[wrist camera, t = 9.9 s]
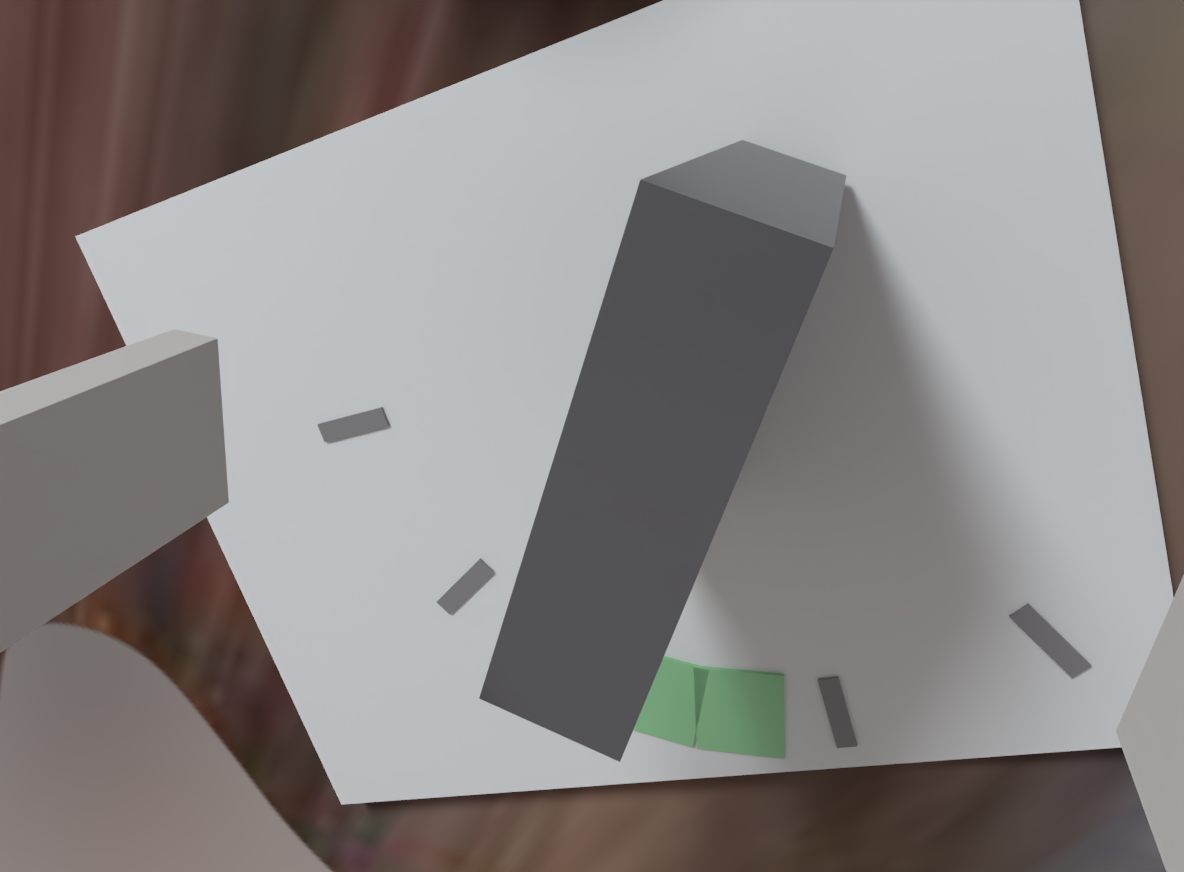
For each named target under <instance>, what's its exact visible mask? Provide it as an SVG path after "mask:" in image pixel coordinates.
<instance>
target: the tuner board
mask: <svg viewBox="0 0 1184 872" xmlns="http://www.w3.org/2000/svg"><path fill="white" fill-rule="evenodd" d="M741 140H744V141H747V142H750V143H753V144H756V145H759V146H762V147H765V148H768V149H771V150H773V151H776V152H779V153H782V154H785V155H788V156H791V157H794V158H797V159H800V160H803V161H806V162H809V163H812V164H814V165H817V166H820V167H823V168H826V169H829V170H832V171H835V172H838V173H841V174H844V175H846V181H845V186H844V192H843V198H842V204H841V209H840V215H839V221H838V226H837V232H836V238H835V244H834V249H833V251H832V253H831V256H830V258H829V261H828V263H827V265H826V268H825V270H824V273H823V275H822V277H821V280H820V282H819V285H818V287H817V289H816V292H815V294H814V297H813V299H812V302H811V304H810V306H809V309H808V311H807V314H806V316H805V318H804V321H803V323H802V326H801V328H800V330H799V333H798V335H797V338H796V340H795V342H794V345H793V347H792V350H791V352H790V354H789V357H788V359H787V362H786V364H785V366H784V369H783V371H782V374H781V376H780V378H779V381H778V383H777V386H776V388H775V390H774V393H773V395H772V398H771V400H770V402H769V405H768V407H767V410H766V412H765V414H764V417H763V419H762V422H761V424H760V427H759V429H758V431H757V434H756V436H755V439H754V441H753V443H752V446H751V448H750V451H749V453H748V455H747V458H746V460H745V463H744V465H743V467H742V470H741V472H740V475H739V477H738V479H737V482H736V484H735V487H734V489H733V491H732V494H731V496H730V499H729V501H728V503H727V506H726V508H725V511H724V513H723V515H722V518H721V520H720V523H719V525H718V527H717V530H716V532H715V535H714V537H713V539H712V542H711V544H710V547H709V549H708V552H707V554H706V556H705V559H704V561H703V564H702V566H701V568H700V571H699V573H698V576H697V578H696V580H695V583H694V585H693V588H692V590H691V592H690V595H689V597H688V600H687V602H686V604H685V607H684V609H683V612H682V614H681V616H680V619H679V621H678V624H677V626H676V628H675V631H674V633H673V636H672V638H671V640H670V643H669V645H668V648H667V650H666V652H665V655H664V657H663V660H662V662H661V665H660V667H659V669H658V672H657V674H656V677H655V679H654V681H653V684H652V686H651V689H650V691H649V693H648V696H647V698H646V701H645V703H644V705H643V708H642V710H641V713H640V715H639V717H638V720H637V722H636V725H635V727H634V729H633V732H632V734H631V737H630V739H629V741H628V744H627V746H626V749H625V751H624V753H623V756H622V758H621V761H620V762H619V761H617V760H614V759H612V758H610V757H608V756H606V755H603V754H601V753H599V752H597V751H594V750H592V749H590V748H588V747H586V746H583V745H581V744H579V743H577V742H574V741H572V740H570V739H568V738H566V737H563V736H561V735H559V734H557V733H555V732H552V731H550V730H548V729H546V728H543V727H541V726H539V725H537V724H535V723H532V722H530V721H528V720H526V719H523V718H521V717H519V716H517V715H515V714H512V713H510V712H508V711H506V710H504V709H501V708H499V707H497V706H495V705H492V704H490V703H488V702H486V701H484V700H481V699H479V697H480V694H481V691H482V687H483V684H484V681H485V678H486V675H487V671H488V668H489V665H490V662H491V658H492V655H493V652H494V649H495V646H496V642H497V639H498V636H499V633H500V630H501V626H502V623H503V620H504V617H505V613H506V610H507V607H508V604H509V601H510V597H511V594H512V591H513V588H514V584H515V581H516V578H517V575H518V572H519V568H520V565H521V562H522V559H523V556H524V552H525V549H526V546H527V543H528V539H529V536H530V533H531V530H532V527H533V523H534V520H535V517H536V514H537V510H538V507H539V504H540V501H541V498H542V494H543V491H544V488H545V485H546V482H547V478H548V475H549V472H550V469H551V465H552V462H553V459H554V456H555V453H556V449H557V446H558V443H559V440H560V436H561V433H562V430H563V427H564V424H565V420H566V417H567V414H568V411H569V408H570V404H571V401H572V398H573V395H574V391H575V388H576V385H577V382H578V379H579V375H580V372H581V369H582V366H583V362H584V359H585V356H586V353H587V350H588V346H589V343H590V340H591V337H592V333H593V330H594V327H595V324H596V321H597V317H598V314H599V311H600V308H601V305H602V301H603V298H604V295H605V292H606V288H607V285H608V282H609V279H610V276H611V272H612V269H613V266H614V263H615V259H616V256H617V253H618V250H619V247H620V243H621V240H622V237H623V234H624V231H625V227H626V224H627V221H628V218H629V214H630V211H631V208H632V205H633V202H634V198H635V195H636V192H637V189H638V185H639V182H640V180H641V179H643V178H646V177H648V176H651V175H654V174H656V173H659V172H661V171H664V170H666V169H669V168H671V167H674V166H677V165H679V164H682V163H684V162H687V161H689V160H692V159H695V158H697V157H700V156H702V155H705V154H707V153H710V152H712V151H715V150H718V149H720V148H723V147H725V146H728V145H730V144H733V143H735V142H738V141H741ZM75 237H76V239H77V241H78V243H79V245H80V248H81V250H82V252H83V254H84V256H85V258H86V260H87V263H88V265H89V267H90V269H91V271H92V273H93V275H94V277H95V280H96V282H97V284H98V286H99V288H100V290H101V292H102V295H103V297H104V299H105V301H106V303H107V305H108V307H109V309H110V312H111V314H112V316H113V318H114V320H115V322H116V324H117V327H118V329H119V331H120V333H121V335H122V337H123V339H124V342H125V344H126V346H128V345H131V344H134V343H136V342H139V341H142V340H145V339H148V338H150V337H153V336H156V335H159V334H161V333H164V332H167V331H170V330H173V329H176V330H180V331H185V332H190V333H195V334H199V335H204V336H209V337H213V338H218V352H219V367H220V381H221V396H222V410H223V425H224V440H225V454H226V469H227V483H228V498H229V503H227V504H226V505H224V506H223V507H221V508H220V509H218V510H217V511H215V512H213V513H212V514H210V515H209V516H207V519H208V521H209V523H210V525H211V527H212V529H213V531H214V534H215V536H216V538H217V540H218V542H219V544H220V546H221V549H222V551H223V553H224V555H225V557H226V559H227V561H228V564H229V566H230V568H231V570H232V572H233V574H234V576H235V578H236V581H237V583H238V585H239V587H240V589H241V591H242V593H243V596H244V598H245V600H246V602H247V604H248V606H249V608H250V610H251V613H252V615H253V617H254V619H255V621H256V623H257V625H258V628H259V630H260V632H261V634H262V636H263V638H264V640H265V642H266V645H267V647H268V649H269V651H270V653H271V655H272V657H273V660H274V662H275V664H276V666H277V668H278V670H279V672H280V675H281V677H282V679H283V681H284V683H285V685H286V687H287V689H288V692H289V694H290V696H291V698H292V700H293V702H294V704H295V707H296V709H297V711H298V713H299V715H300V717H301V719H302V721H303V724H304V726H305V728H306V730H307V732H308V734H309V736H310V739H311V741H312V743H313V745H314V747H315V749H316V751H317V753H318V756H319V758H320V760H321V762H322V764H323V766H324V768H325V771H326V773H327V775H328V777H329V779H330V781H331V783H332V786H333V788H334V790H335V792H336V794H337V796H338V798H339V800H340V803H341V805H342V804H355V803H369V802H383V801H396V800H410V799H424V798H437V797H451V796H464V795H478V794H492V793H505V792H519V791H533V790H546V789H560V788H574V787H587V786H601V785H615V784H628V783H642V782H656V781H669V780H683V779H697V778H710V777H724V776H738V775H751V774H765V773H779V772H792V771H806V770H820V769H833V768H847V767H861V766H874V765H888V764H902V763H915V762H929V761H943V760H956V759H970V758H984V757H997V756H1011V755H1025V754H1038V753H1052V752H1066V751H1079V750H1093V749H1107V748H1120V747H1121V744H1120V741H1119V739H1118V736H1117V733H1116V730H1117V727H1118V725H1119V723H1120V720H1121V718H1122V716H1123V713H1124V711H1125V709H1126V707H1127V704H1128V702H1129V700H1130V697H1131V695H1132V693H1133V690H1134V688H1135V686H1136V684H1137V681H1138V679H1139V677H1140V674H1141V672H1142V670H1143V667H1144V665H1145V663H1146V661H1147V658H1148V656H1149V654H1150V651H1151V649H1152V647H1153V644H1154V642H1155V640H1156V638H1157V635H1158V633H1159V631H1160V628H1161V626H1162V624H1163V621H1164V619H1165V617H1166V615H1167V612H1168V610H1169V608H1170V605H1171V603H1172V601H1173V598H1174V597H1173V590H1172V584H1171V578H1170V571H1169V565H1168V559H1167V552H1166V546H1165V540H1164V533H1163V527H1162V521H1161V515H1160V508H1159V502H1158V496H1157V489H1156V483H1155V477H1154V470H1153V464H1152V458H1151V451H1150V445H1149V439H1148V432H1147V426H1146V420H1145V414H1144V407H1143V401H1142V395H1141V388H1140V382H1139V376H1138V369H1137V363H1136V357H1135V350H1134V344H1133V338H1132V331H1131V325H1130V319H1129V313H1128V306H1127V300H1126V294H1125V287H1124V281H1123V275H1122V268H1121V262H1120V256H1119V249H1118V243H1117V237H1116V230H1115V224H1114V218H1113V212H1112V205H1111V199H1110V193H1109V186H1108V180H1107V174H1106V167H1105V161H1104V155H1103V148H1102V142H1101V136H1100V129H1099V123H1098V117H1097V111H1096V104H1095V98H1094V92H1093V85H1092V79H1091V73H1090V66H1089V60H1088V54H1087V47H1086V41H1085V35H1084V28H1083V22H1082V16H1081V10H1080V3H1079V0H663V1H661V2H658V3H656V4H653V5H651V6H648V7H646V8H643V9H641V10H638V11H636V12H633V13H631V14H628V15H626V16H623V17H621V18H618V19H616V20H613V21H611V22H608V23H606V24H603V25H601V26H598V27H596V28H593V29H591V30H588V31H586V32H583V33H581V34H578V35H576V36H573V37H571V38H568V39H566V40H563V41H561V42H558V43H556V44H553V45H551V46H548V47H546V48H543V49H541V50H538V51H536V52H534V53H531V54H529V55H526V56H524V57H521V58H519V59H516V60H514V61H511V62H509V63H506V64H504V65H501V66H499V67H496V68H494V69H491V70H489V71H486V72H484V73H481V74H479V75H476V76H474V77H471V78H469V79H466V80H464V81H461V82H459V83H456V84H454V85H451V86H449V87H446V88H444V89H441V90H439V91H436V92H434V93H431V94H429V95H426V96H424V97H421V98H419V99H416V100H414V101H411V102H409V103H406V104H404V105H401V106H399V107H397V108H394V109H392V110H389V111H387V112H384V113H382V114H379V115H377V116H374V117H372V118H369V119H367V120H364V121H362V122H359V123H357V124H354V125H352V126H349V127H347V128H344V129H342V130H339V131H337V132H334V133H332V134H329V135H327V136H324V137H322V138H319V139H317V140H314V141H312V142H309V143H307V144H304V145H302V146H299V147H297V148H294V149H292V150H289V151H287V152H284V153H282V154H279V155H277V156H274V157H272V158H269V159H267V160H264V161H262V162H259V163H257V164H255V165H252V166H250V167H247V168H245V169H242V170H240V171H237V172H235V173H232V174H230V175H227V176H225V177H222V178H220V179H217V180H215V181H212V182H210V183H207V184H205V185H202V186H200V187H197V188H195V189H192V190H190V191H187V192H185V193H182V194H180V195H177V196H175V197H172V198H170V199H167V200H165V201H162V202H160V203H157V204H155V205H152V206H150V207H147V208H145V209H142V210H140V211H137V212H135V213H132V214H130V215H127V216H125V217H122V218H120V219H118V220H115V221H113V222H110V223H108V224H105V225H103V226H100V227H98V228H95V229H93V230H90V231H88V232H85V233H83V234H80V235H78V236H75Z"/></svg>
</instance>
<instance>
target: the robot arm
mask: <svg viewBox="0 0 1184 872" xmlns="http://www.w3.org/2000/svg"><path fill="white" fill-rule="evenodd" d="M227 503H229V498H228V483H227V469H226V454H225V440H224V425H223V410H222V396H221V381H220V367H219V352H218V338H213V337H209V336H204V335H199V334H195V333H190V332H185V331H180V330H176V329H173V330H170V331H167V332H164V333H161V334H159V335H156V336H153V337H150V338H148V339H145V340H142V341H139V342H136V343H134V344H131V345H128V346H125V347H123V348H120V349H117V350H114V351H111V352H109V353H106V354H103V355H100V356H98V357H95V358H92V359H89V360H86V361H84V362H81V363H78V364H75V365H73V366H70V367H67V368H64V369H62V370H59V371H56V372H53V373H50V374H48V375H45V376H42V377H39V378H37V379H34V380H31V381H28V382H25V383H23V384H20V385H17V386H14V387H12V388H9V389H6V390H3V391H0V653H1V652H2V651H4V650H5V649H7V648H8V647H10V646H11V645H13V644H14V643H16V642H17V641H19V640H20V639H22V638H23V637H25V636H26V635H28V634H29V633H31V632H33V631H34V630H36V629H37V628H39V627H40V626H42V625H43V624H45V623H46V622H48V621H49V620H51V619H52V618H54V617H55V616H57V615H58V614H60V613H61V612H63V611H64V610H66V609H67V608H69V607H71V606H72V605H74V604H75V603H77V602H78V601H80V600H81V599H83V598H84V597H86V596H87V595H89V594H90V593H92V592H93V591H95V590H96V589H98V588H99V587H101V586H102V585H104V584H106V583H107V582H109V581H110V580H112V579H113V578H115V577H116V576H118V575H119V574H121V573H122V572H124V571H125V570H127V569H128V568H130V567H131V566H133V565H134V564H136V563H137V562H139V561H140V560H142V559H144V558H145V557H147V556H148V555H150V554H151V553H153V552H154V551H156V550H157V549H159V548H160V547H162V546H163V545H165V544H166V543H168V542H169V541H171V540H172V539H174V538H175V537H177V536H178V535H180V534H182V533H183V532H185V531H186V530H188V529H189V528H191V527H192V526H194V525H195V524H197V523H198V522H200V521H201V520H203V519H204V518H206V517H207V516H209V515H210V514H212V513H213V512H215V511H217V510H218V509H220V508H221V507H223V506H224V505H226V504H227ZM1116 733H1117V736H1118V739H1119V741H1120V744H1121V747H1122V750H1123V753H1124V755H1125V758H1126V761H1127V764H1128V766H1129V769H1130V772H1131V775H1132V778H1133V780H1134V783H1135V786H1136V789H1137V791H1138V794H1139V797H1140V800H1141V802H1142V805H1143V808H1144V811H1145V814H1146V816H1147V819H1148V822H1149V825H1150V827H1151V830H1152V833H1153V836H1154V838H1155V841H1156V844H1157V847H1158V850H1159V852H1160V855H1161V858H1162V861H1163V863H1164V866H1165V869H1166V872H1184V575H1183V578H1182V580H1181V582H1180V585H1179V587H1178V589H1177V592H1176V594H1175V596H1174V598H1173V601H1172V603H1171V605H1170V608H1169V610H1168V612H1167V615H1166V617H1165V619H1164V621H1163V624H1162V626H1161V628H1160V631H1159V633H1158V635H1157V638H1156V640H1155V642H1154V644H1153V647H1152V649H1151V651H1150V654H1149V656H1148V658H1147V661H1146V663H1145V665H1144V667H1143V670H1142V672H1141V674H1140V677H1139V679H1138V681H1137V684H1136V686H1135V688H1134V690H1133V693H1132V695H1131V697H1130V700H1129V702H1128V704H1127V707H1126V709H1125V711H1124V713H1123V716H1122V718H1121V720H1120V723H1119V725H1118V727H1117V730H1116Z"/></svg>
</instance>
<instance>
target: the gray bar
mask: <svg viewBox="0 0 1184 872" xmlns="http://www.w3.org/2000/svg"><path fill="white" fill-rule="evenodd" d="M845 181H846V175H844V174H841V173H838V172H835V171H832V170H829V169H826V168H823V167H820V166H817V165H814V164H812V163H809V162H806V161H803V160H800V159H797V158H794V157H791V156H788V155H785V154H782V153H779V152H776V151H773V150H771V149H768V148H765V147H762V146H759V145H756V144H753V143H750V142H747V141H744V140H741V141H738V142H735V143H733V144H730V145H728V146H725V147H723V148H720V149H718V150H715V151H712V152H710V153H707V154H705V155H702V156H700V157H697V158H695V159H692V160H689V161H687V162H684V163H682V164H679V165H677V166H674V167H671V168H669V169H666V170H664V171H661V172H659V173H656V174H654V175H651V176H648V177H646V178H643V179H641V180H640V182H639V185H638V189H637V192H636V195H635V198H634V202H633V205H632V208H631V211H630V214H629V218H628V221H627V224H626V227H625V231H624V234H623V237H622V240H621V243H620V247H619V250H618V253H617V256H616V259H615V263H614V266H613V269H612V272H611V276H610V279H609V282H608V285H607V288H606V292H605V295H604V298H603V301H602V305H601V308H600V311H599V314H598V317H597V321H596V324H595V327H594V330H593V333H592V337H591V340H590V343H589V346H588V350H587V353H586V356H585V359H584V362H583V366H582V369H581V372H580V375H579V379H578V382H577V385H576V388H575V391H574V395H573V398H572V401H571V404H570V408H569V411H568V414H567V417H566V420H565V424H564V427H563V430H562V433H561V436H560V440H559V443H558V446H557V449H556V453H555V456H554V459H553V462H552V465H551V469H550V472H549V475H548V478H547V482H546V485H545V488H544V491H543V494H542V498H541V501H540V504H539V507H538V510H537V514H536V517H535V520H534V523H533V527H532V530H531V533H530V536H529V539H528V543H527V546H526V549H525V552H524V556H523V559H522V562H521V565H520V568H519V572H518V575H517V578H516V581H515V584H514V588H513V591H512V594H511V597H510V601H509V604H508V607H507V610H506V613H505V617H504V620H503V623H502V626H501V630H500V633H499V636H498V639H497V642H496V646H495V649H494V652H493V655H492V658H491V662H490V665H489V668H488V671H487V675H486V678H485V681H484V684H483V687H482V691H481V694H480V697H479V699H481V700H484V701H486V702H488V703H490V704H492V705H495V706H497V707H499V708H501V709H504V710H506V711H508V712H510V713H512V714H515V715H517V716H519V717H521V718H523V719H526V720H528V721H530V722H532V723H535V724H537V725H539V726H541V727H543V728H546V729H548V730H550V731H552V732H555V733H557V734H559V735H561V736H563V737H566V738H568V739H570V740H572V741H574V742H577V743H579V744H581V745H583V746H586V747H588V748H590V749H592V750H594V751H597V752H599V753H601V754H603V755H606V756H608V757H610V758H612V759H614V760H617V761H619V762H620V761H621V758H622V756H623V753H624V751H625V749H626V746H627V744H628V741H629V739H630V737H631V734H632V732H633V729H634V727H635V725H636V722H637V720H638V717H639V715H640V713H641V710H642V708H643V705H644V703H645V701H646V698H647V696H648V693H649V691H650V689H651V686H652V684H653V681H654V679H655V677H656V674H657V672H658V669H659V667H660V665H661V662H662V660H663V657H664V655H665V652H666V650H667V648H668V645H669V643H670V640H671V638H672V636H673V633H674V631H675V628H676V626H677V624H678V621H679V619H680V616H681V614H682V612H683V609H684V607H685V604H686V602H687V600H688V597H689V595H690V592H691V590H692V588H693V585H694V583H695V580H696V578H697V576H698V573H699V571H700V568H701V566H702V564H703V561H704V559H705V556H706V554H707V552H708V549H709V547H710V544H711V542H712V539H713V537H714V535H715V532H716V530H717V527H718V525H719V523H720V520H721V518H722V515H723V513H724V511H725V508H726V506H727V503H728V501H729V499H730V496H731V494H732V491H733V489H734V487H735V484H736V482H737V479H738V477H739V475H740V472H741V470H742V467H743V465H744V463H745V460H746V458H747V455H748V453H749V451H750V448H751V446H752V443H753V441H754V439H755V436H756V434H757V431H758V429H759V427H760V424H761V422H762V419H763V417H764V414H765V412H766V410H767V407H768V405H769V402H770V400H771V398H772V395H773V393H774V390H775V388H776V386H777V383H778V381H779V378H780V376H781V374H782V371H783V369H784V366H785V364H786V362H787V359H788V357H789V354H790V352H791V350H792V347H793V345H794V342H795V340H796V338H797V335H798V333H799V330H800V328H801V326H802V323H803V321H804V318H805V316H806V314H807V311H808V309H809V306H810V304H811V302H812V299H813V297H814V294H815V292H816V289H817V287H818V285H819V282H820V280H821V277H822V275H823V273H824V270H825V268H826V265H827V263H828V261H829V258H830V256H831V253H832V251H833V249H834V244H835V238H836V232H837V226H838V221H839V215H840V209H841V204H842V198H843V192H844V186H845Z"/></svg>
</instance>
